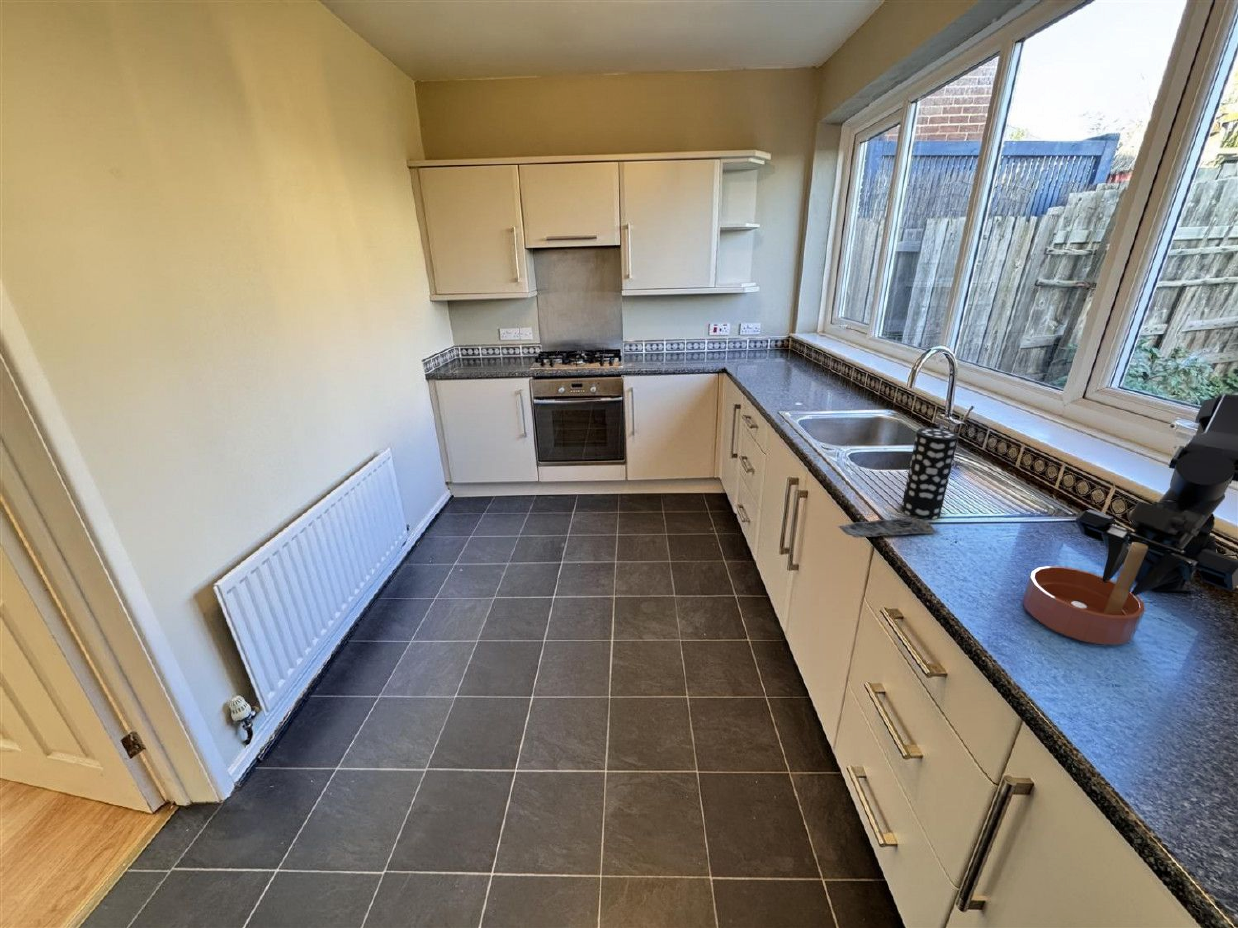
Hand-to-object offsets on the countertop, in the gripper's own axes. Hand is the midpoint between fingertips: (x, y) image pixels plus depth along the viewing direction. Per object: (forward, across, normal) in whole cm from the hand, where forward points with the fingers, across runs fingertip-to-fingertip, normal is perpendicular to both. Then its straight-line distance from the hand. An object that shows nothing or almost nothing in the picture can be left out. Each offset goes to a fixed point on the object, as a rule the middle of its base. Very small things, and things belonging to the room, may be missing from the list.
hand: (1118, 587), depth 80 cm
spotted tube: (-3, -42, +15) cm, 45 cm away
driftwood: (+8, -39, +4) cm, 40 cm away
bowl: (+6, -4, +6) cm, 9 cm away
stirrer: (+6, -3, +5) cm, 8 cm away
